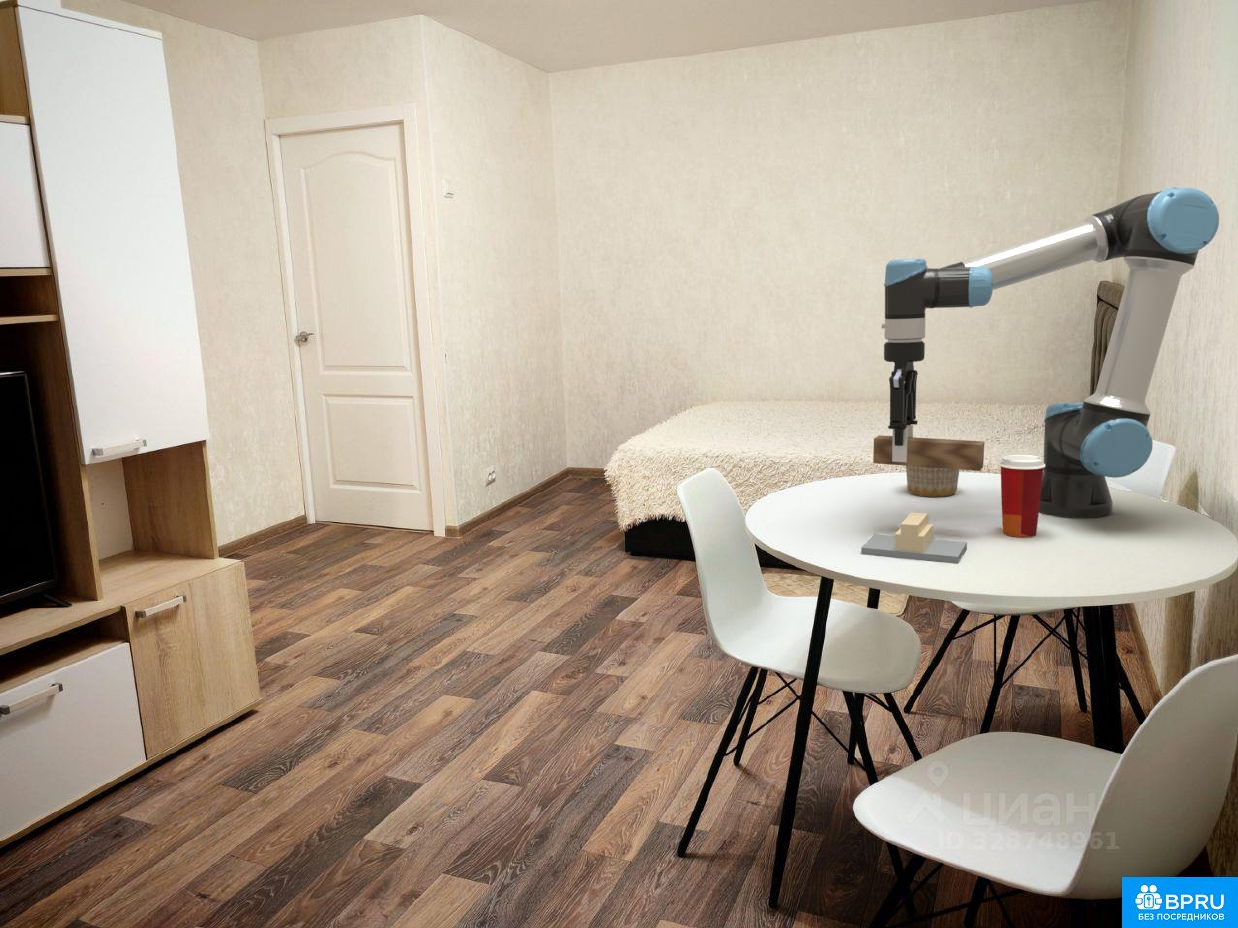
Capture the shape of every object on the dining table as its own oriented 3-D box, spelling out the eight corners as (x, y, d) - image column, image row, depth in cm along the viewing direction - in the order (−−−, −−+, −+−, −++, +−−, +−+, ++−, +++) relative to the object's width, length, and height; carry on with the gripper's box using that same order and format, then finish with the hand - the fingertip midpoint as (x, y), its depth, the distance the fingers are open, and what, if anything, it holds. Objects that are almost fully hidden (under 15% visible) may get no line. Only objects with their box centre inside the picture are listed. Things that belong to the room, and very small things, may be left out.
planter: (921, 484, 222) (921, 443, 220) (970, 491, 212) (971, 447, 211) (893, 494, 213) (894, 450, 211) (943, 501, 204) (944, 456, 202)
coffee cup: (1040, 528, 178) (1043, 454, 175) (1044, 539, 171) (1048, 462, 168) (994, 527, 181) (996, 453, 178) (997, 538, 173) (999, 461, 171)
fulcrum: (966, 548, 167) (967, 516, 166) (957, 563, 159) (958, 529, 158) (874, 539, 176) (874, 509, 175) (861, 553, 167) (861, 521, 166)
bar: (983, 467, 173) (984, 441, 172) (979, 471, 170) (981, 445, 169) (878, 459, 183) (878, 435, 182) (873, 463, 179) (873, 438, 178)
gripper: (895, 338, 183) (893, 451, 188) (873, 343, 169) (872, 466, 173) (933, 337, 179) (930, 453, 184) (914, 343, 165) (912, 468, 169)
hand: (902, 459), depth 178 cm, fingers closed on bar, 4 cm apart
